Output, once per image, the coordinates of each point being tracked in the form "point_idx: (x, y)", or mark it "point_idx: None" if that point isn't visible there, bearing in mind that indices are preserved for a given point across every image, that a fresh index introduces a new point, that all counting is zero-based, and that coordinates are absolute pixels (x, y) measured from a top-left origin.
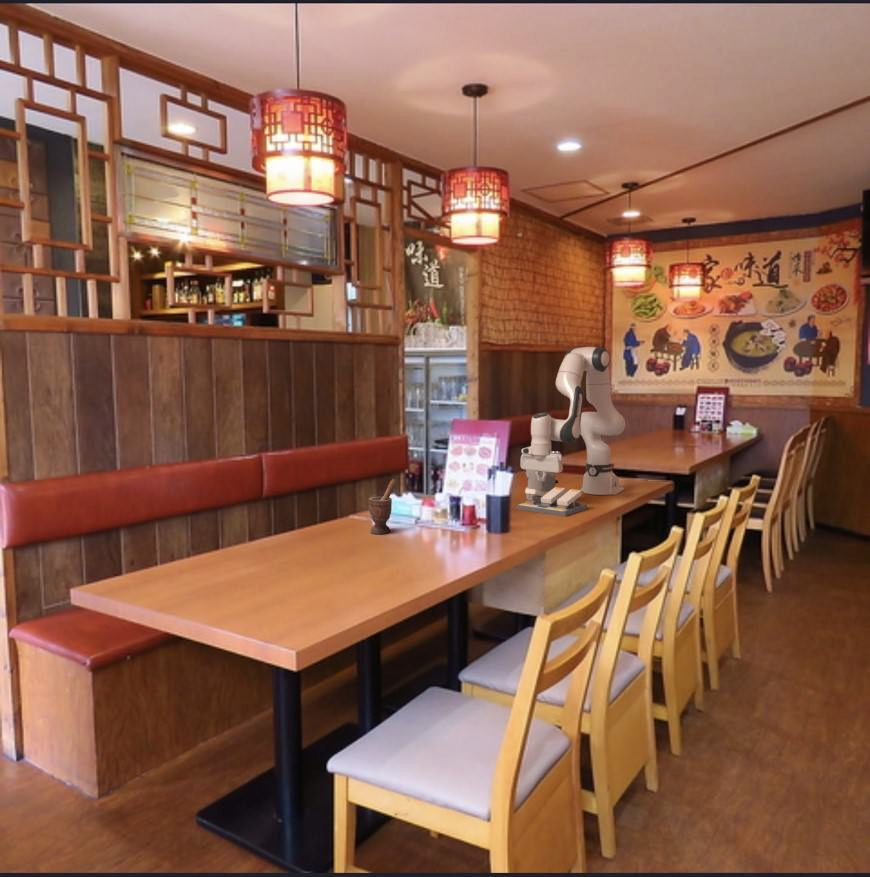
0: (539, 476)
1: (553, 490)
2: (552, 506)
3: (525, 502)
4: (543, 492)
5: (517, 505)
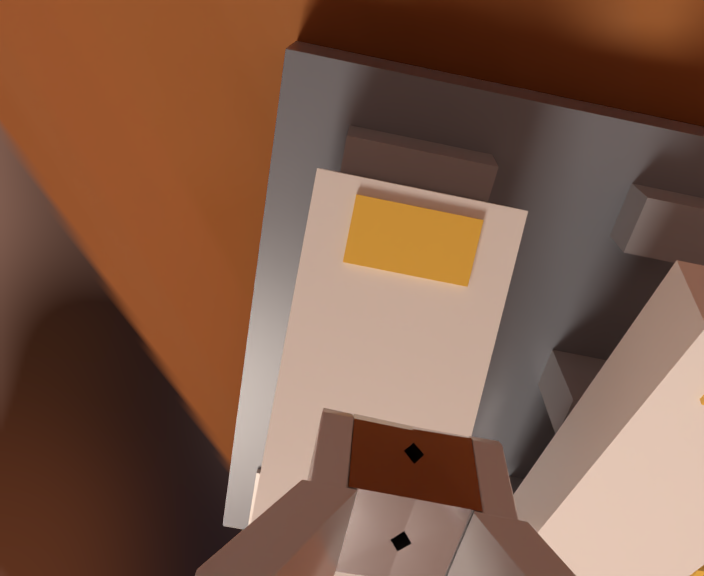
0: (336, 558)
1: (677, 435)
2: None
3: (245, 403)
4: (473, 413)
5: (231, 520)
